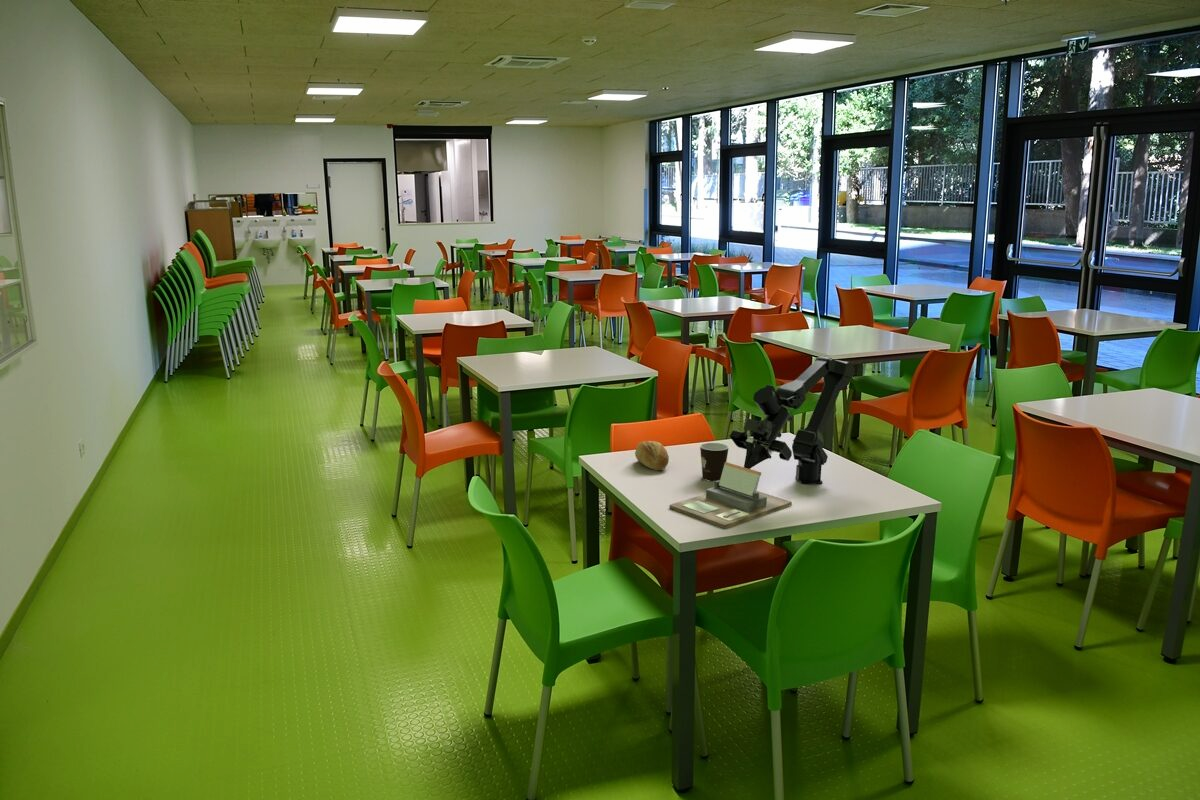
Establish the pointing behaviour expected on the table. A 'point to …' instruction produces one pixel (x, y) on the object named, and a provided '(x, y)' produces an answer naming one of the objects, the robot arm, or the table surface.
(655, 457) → the bread roll
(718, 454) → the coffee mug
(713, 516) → the switch board
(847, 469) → the table surface
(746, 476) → the board
